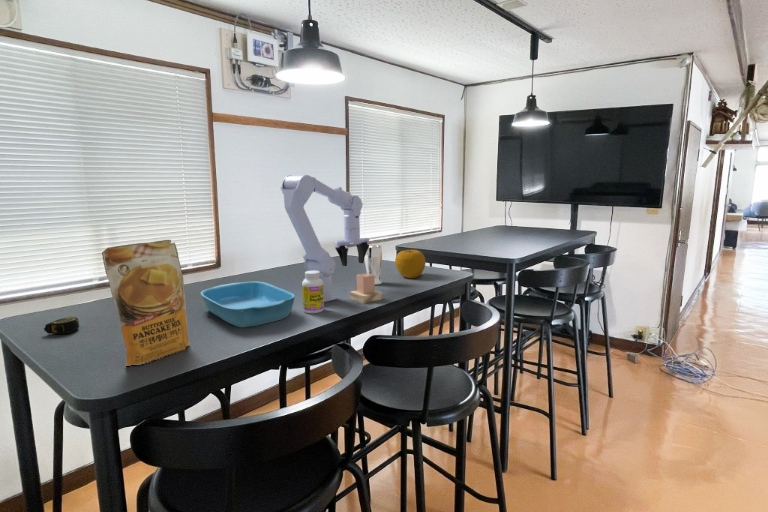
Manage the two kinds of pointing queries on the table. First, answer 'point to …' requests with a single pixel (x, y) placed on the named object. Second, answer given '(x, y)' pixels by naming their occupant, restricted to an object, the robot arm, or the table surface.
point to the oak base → (365, 296)
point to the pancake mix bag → (148, 299)
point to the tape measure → (62, 325)
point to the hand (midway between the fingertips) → (352, 264)
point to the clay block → (365, 283)
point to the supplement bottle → (313, 292)
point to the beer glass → (374, 262)
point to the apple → (410, 263)
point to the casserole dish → (248, 303)
